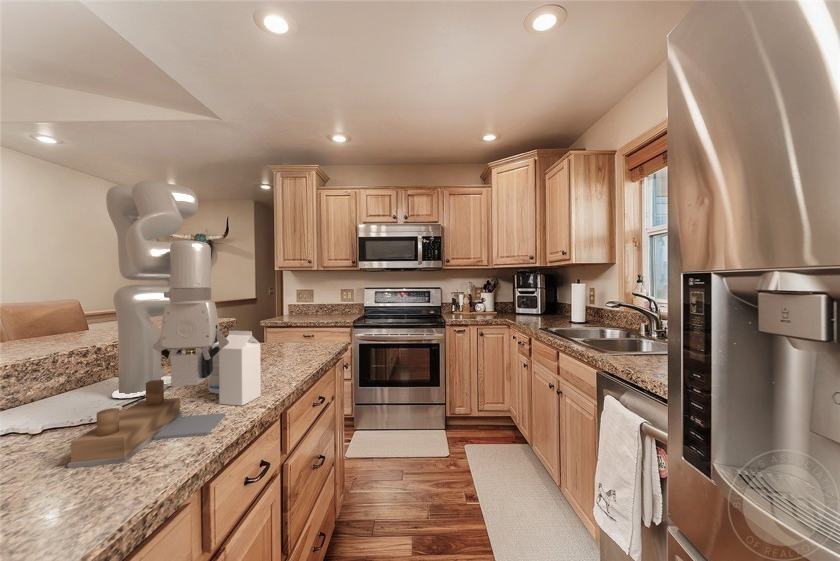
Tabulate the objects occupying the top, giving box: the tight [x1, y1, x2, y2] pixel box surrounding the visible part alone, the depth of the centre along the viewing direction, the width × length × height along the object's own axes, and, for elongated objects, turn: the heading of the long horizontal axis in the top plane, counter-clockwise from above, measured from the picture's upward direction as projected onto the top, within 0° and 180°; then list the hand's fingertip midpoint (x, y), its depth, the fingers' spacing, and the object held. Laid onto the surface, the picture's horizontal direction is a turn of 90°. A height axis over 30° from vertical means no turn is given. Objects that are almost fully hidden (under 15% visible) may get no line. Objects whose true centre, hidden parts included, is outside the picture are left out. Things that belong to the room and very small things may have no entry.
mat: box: [152, 412, 226, 441], centre depth 73 cm, size 10×10×1 cm
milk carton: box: [218, 330, 262, 406], centre depth 88 cm, size 7×7×19 cm
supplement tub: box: [207, 342, 219, 395], centre depth 98 cm, size 10×10×15 cm
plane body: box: [67, 379, 183, 469], centre depth 68 cm, size 21×9×10 cm, turn 13°
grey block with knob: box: [170, 348, 211, 388], centre depth 72 cm, size 7×5×7 cm
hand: (192, 376), depth 73 cm, fingers closed on grey block with knob, 5 cm apart
